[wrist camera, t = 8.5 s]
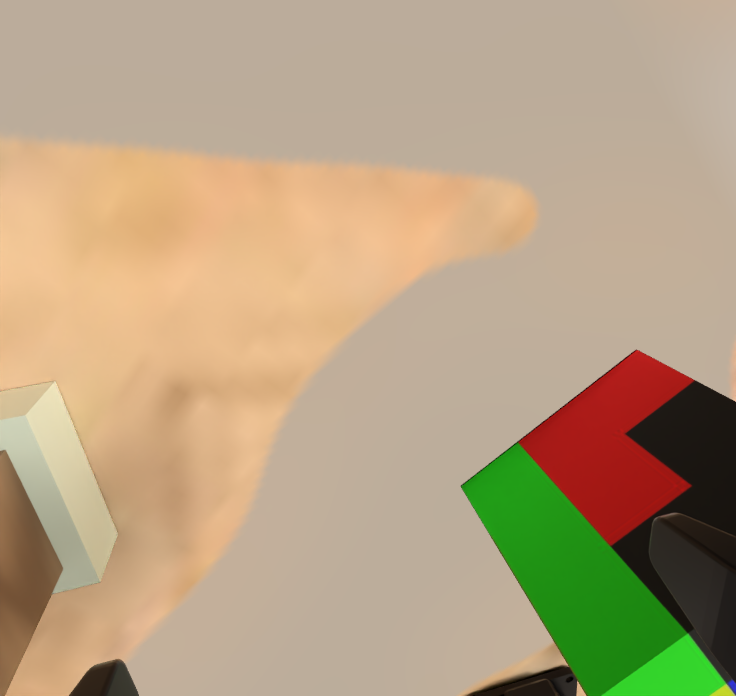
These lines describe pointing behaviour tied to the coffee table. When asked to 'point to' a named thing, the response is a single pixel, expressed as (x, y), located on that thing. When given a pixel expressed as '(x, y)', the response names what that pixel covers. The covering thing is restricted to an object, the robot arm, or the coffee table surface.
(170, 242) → the coffee table surface
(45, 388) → the pale green block
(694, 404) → the puzzle toy
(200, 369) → the coffee table surface
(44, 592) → the walnut cube
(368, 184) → the coffee table surface
